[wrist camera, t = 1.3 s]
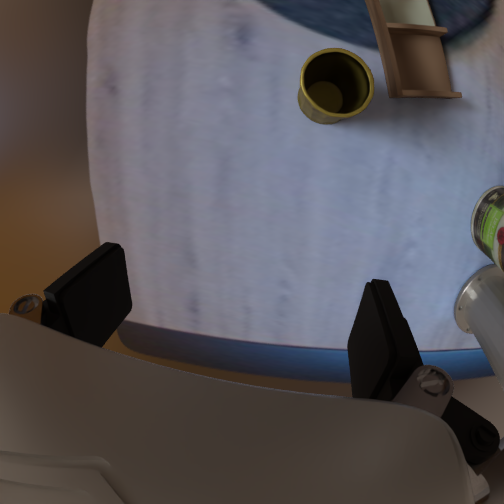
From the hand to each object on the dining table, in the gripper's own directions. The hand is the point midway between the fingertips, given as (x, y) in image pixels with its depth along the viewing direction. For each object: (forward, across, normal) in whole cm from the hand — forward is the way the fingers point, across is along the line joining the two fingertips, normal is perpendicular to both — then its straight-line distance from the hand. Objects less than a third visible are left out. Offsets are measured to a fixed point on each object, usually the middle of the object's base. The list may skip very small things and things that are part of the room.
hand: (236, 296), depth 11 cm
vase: (+26, -4, -10) cm, 28 cm away
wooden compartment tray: (+26, -13, -20) cm, 36 cm away
